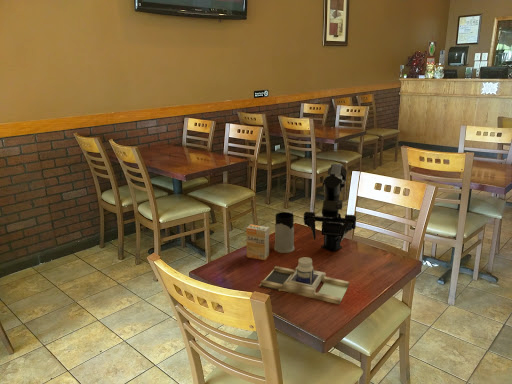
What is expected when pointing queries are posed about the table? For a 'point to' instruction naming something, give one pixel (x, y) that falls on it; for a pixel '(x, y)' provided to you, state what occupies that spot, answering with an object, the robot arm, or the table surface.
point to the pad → (333, 290)
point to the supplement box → (257, 242)
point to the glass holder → (284, 232)
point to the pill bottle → (305, 271)
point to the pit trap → (277, 278)
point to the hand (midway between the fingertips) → (327, 240)
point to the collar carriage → (293, 280)
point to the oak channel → (305, 289)
